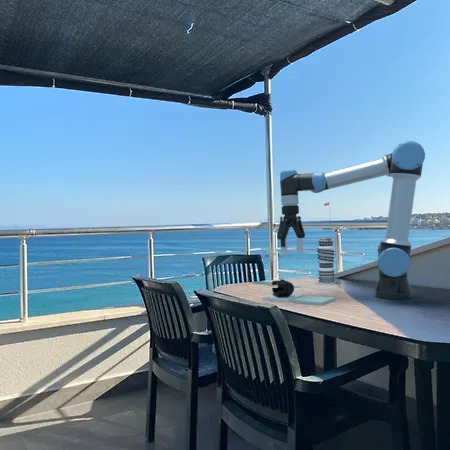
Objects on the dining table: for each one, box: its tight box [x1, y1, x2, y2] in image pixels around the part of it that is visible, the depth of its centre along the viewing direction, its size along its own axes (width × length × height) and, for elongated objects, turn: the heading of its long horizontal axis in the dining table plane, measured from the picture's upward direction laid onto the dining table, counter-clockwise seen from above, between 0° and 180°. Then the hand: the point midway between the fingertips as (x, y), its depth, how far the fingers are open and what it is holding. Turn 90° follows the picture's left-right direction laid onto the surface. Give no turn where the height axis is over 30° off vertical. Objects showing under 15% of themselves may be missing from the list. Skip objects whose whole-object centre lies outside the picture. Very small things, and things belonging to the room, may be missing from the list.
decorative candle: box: [316, 237, 336, 286], centre depth 230 cm, size 9×9×25 cm
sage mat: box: [291, 294, 336, 306], centre depth 177 cm, size 13×13×1 cm
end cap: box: [271, 278, 295, 298], centre depth 186 cm, size 10×7×7 cm
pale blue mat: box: [262, 293, 304, 303], centre depth 186 cm, size 13×13×1 cm
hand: (292, 253), depth 186 cm, fingers open, 13 cm apart
